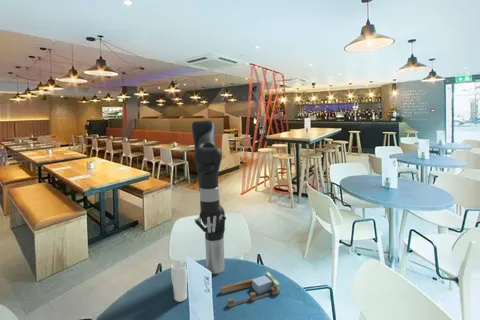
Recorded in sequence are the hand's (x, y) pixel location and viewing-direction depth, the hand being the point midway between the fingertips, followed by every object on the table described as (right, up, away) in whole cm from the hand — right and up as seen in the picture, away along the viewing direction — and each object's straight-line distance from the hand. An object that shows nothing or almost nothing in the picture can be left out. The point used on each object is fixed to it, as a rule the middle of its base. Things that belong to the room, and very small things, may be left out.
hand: (211, 240), depth 106 cm
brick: (+21, -25, +12) cm, 36 cm away
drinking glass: (-14, -27, +7) cm, 31 cm away
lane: (+15, -26, +9) cm, 31 cm away
